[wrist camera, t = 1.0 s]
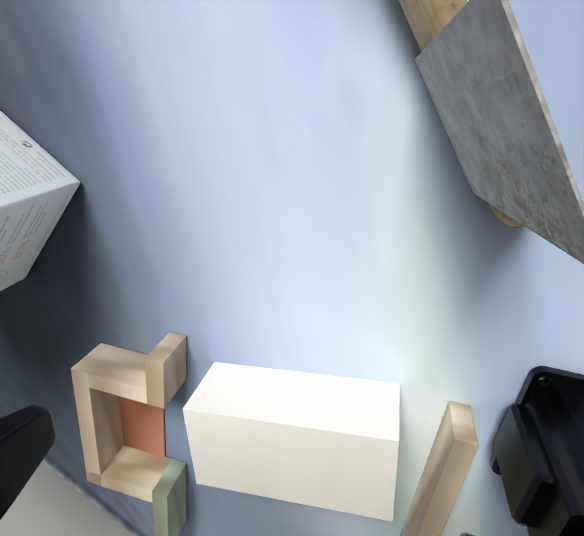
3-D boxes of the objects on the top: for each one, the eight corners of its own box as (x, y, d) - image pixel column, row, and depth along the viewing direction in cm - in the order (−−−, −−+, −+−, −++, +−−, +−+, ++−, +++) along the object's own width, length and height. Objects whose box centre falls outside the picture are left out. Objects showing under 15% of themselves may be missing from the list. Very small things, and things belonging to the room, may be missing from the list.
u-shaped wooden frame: (470, 405, 20) (478, 445, 18) (397, 590, 27) (397, 636, 25) (97, 314, 24) (66, 337, 21) (117, 498, 30) (95, 531, 28)
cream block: (399, 380, 21) (399, 441, 17) (394, 453, 23) (392, 521, 19) (216, 359, 23) (182, 408, 20) (225, 427, 25) (196, 483, 22)
